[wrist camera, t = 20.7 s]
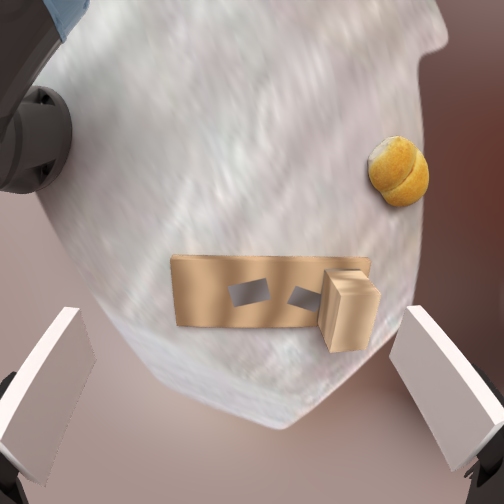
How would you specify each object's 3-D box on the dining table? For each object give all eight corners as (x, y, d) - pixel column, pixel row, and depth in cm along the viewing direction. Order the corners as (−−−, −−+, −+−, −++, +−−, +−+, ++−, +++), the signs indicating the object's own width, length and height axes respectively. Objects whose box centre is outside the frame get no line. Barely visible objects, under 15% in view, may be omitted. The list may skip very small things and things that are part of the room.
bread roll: (396, 214, 38) (410, 223, 34) (355, 168, 35) (367, 172, 32) (432, 173, 36) (448, 178, 32) (394, 125, 33) (409, 125, 30)
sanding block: (316, 321, 41) (329, 352, 35) (324, 269, 38) (341, 295, 32) (349, 319, 41) (366, 349, 35) (359, 268, 38) (381, 294, 32)
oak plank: (178, 319, 42) (176, 325, 40) (172, 254, 38) (170, 259, 37) (354, 318, 43) (357, 324, 42) (367, 257, 40) (371, 261, 38)
